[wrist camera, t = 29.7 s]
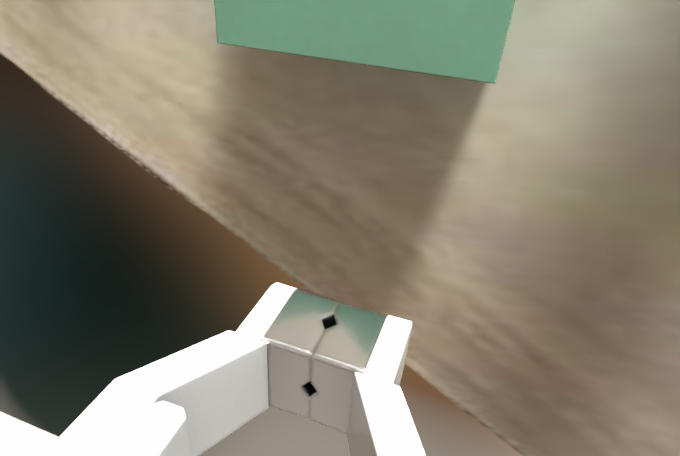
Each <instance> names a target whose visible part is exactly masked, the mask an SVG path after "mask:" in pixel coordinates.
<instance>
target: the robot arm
mask: <svg viewBox="0 0 680 456" xmlns="http://www.w3.org/2000/svg"><path fill="white" fill-rule="evenodd" d="M412 326H413V322H412V321H409V320H406V319H402V318H399V317H395V316H391V315H387V314H383V313H380V312H376V311H373V310H369V309H366V308H362V307H359V306H355V305H351V304H348V303H344V302H340V301H337V300H334V299H331V298H328V297H324V296H321V295H318V294H315V293H312V292H309V291H306V290H302V289H299V288H298V289H297V288H294V287H291V286H288V285H285V284H282V283H279V282H276V283H274V284H272V285H271V286H270V287H269V288H268V290H267V291H266V292H265V294H264V295H263V296H262V297H261V299H260V300H259V301H258V303H257V304H256V305H255V307H254V308H253V309H252V311H251V312H250V313H249V314H248V316H247V317H246V319H245V320H244V321H243V322H242V324H241V325H240V326H239V328H238V329H237V330H236V332H233V331H230V330H228V331H225V332H223V333H221V334H218V335H216V336H214V337H211V338H209V339H207V340H205V341H202V342H200V343H197V344H195V345H193V346H191V347H188V348H186V349H184V350H181V351H179V352H176V353H174V354H172V355H169V356H167V357H165V358H162V359H160V360H158V361H155V362H153V363H151V364H148V365H146V366H144V367H141V368H139V369H137V370H134V371H132V372H129V373H127V374H125V375H123V376H120V377H118V378H116V379H114V380H113V381H112V382H111V383H110V384H109V385H108V386H107V387H106V388H105V389H104V390H103V391H102V392H101V394H100V395H99V396H98V397H97V398H96V399H95V400H94V401H93V402H92V403H91V404H90V405H89V406H88V407H87V408H86V409H85V410H84V411H83V412H82V414H81V415H80V416H79V417H78V418H77V419H76V420H75V421H74V422H73V423H72V424H71V425H70V426H69V427H68V428H67V429H66V430H65V431H64V432H63V433H62V434H61V435H60V436H59V437H58V436H56V435H54V434H51V433H49V432H47V431H44V430H42V429H40V428H37V427H35V426H33V425H31V424H28V423H26V422H24V421H21V420H19V419H17V418H15V417H12V416H10V415H8V414H5V413H3V412H1V411H0V456H199V455H201V454H202V453H204V452H205V451H207V450H208V449H210V448H211V447H213V446H214V445H216V444H217V443H219V442H220V441H221V440H223V439H224V438H226V437H227V436H229V435H230V434H232V433H233V432H235V431H236V430H238V429H239V428H241V427H242V426H243V425H245V424H246V423H248V422H249V421H251V420H252V419H254V418H255V417H257V416H258V415H260V414H261V413H262V412H264V411H265V410H267V409H268V408H269V406H272V407H275V408H278V409H281V410H284V411H287V412H290V413H293V414H296V415H299V416H302V417H305V418H308V419H310V420H313V421H315V422H318V423H321V424H323V425H325V426H328V427H331V428H333V429H336V430H338V431H341V432H343V433H346V434H348V435H347V437H348V442H349V447H350V453H351V456H426V454H425V451H424V449H423V446H422V443H421V441H420V438H419V435H418V433H417V430H416V427H415V425H414V422H413V419H412V417H411V414H410V411H409V408H408V406H407V403H406V400H405V398H404V395H403V392H402V390H401V387H400V386H399V385H400V381H401V377H402V373H403V369H404V364H405V360H406V355H407V351H408V346H409V341H410V336H411V332H412Z"/></svg>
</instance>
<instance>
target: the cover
mask: <svg viewBox="0 0 680 456" xmlns="http://www.w3.org/2000/svg"><path fill="white" fill-rule="evenodd" d="M214 2H215V16H216V31H217V43H221V44H227V45H234V46H241V47H248V48H255V49H262V50H268V51H275V52H282V53H289V54H296V55H302V56H309V57H316V58H323V59H330V60H337V61H343V62H350V63H357V64H364V65H371V66H378V67H384V68H391V69H398V70H405V71H412V72H419V73H425V74H432V75H439V76H446V77H453V78H460V79H466V80H473V81H480V82H487V83H495V82H496V78H497V74H498V70H499V66H500V61H501V57H502V53H503V49H504V45H505V41H506V36H507V32H508V28H509V24H510V20H511V15H512V11H513V7H514V3H515V0H214Z"/></svg>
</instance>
